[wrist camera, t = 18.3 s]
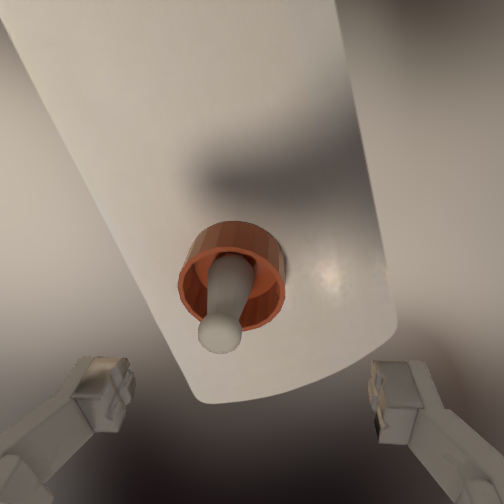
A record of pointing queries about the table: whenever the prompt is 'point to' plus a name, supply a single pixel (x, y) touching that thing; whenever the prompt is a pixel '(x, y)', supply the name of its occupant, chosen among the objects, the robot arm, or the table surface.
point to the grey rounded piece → (226, 302)
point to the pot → (255, 252)
